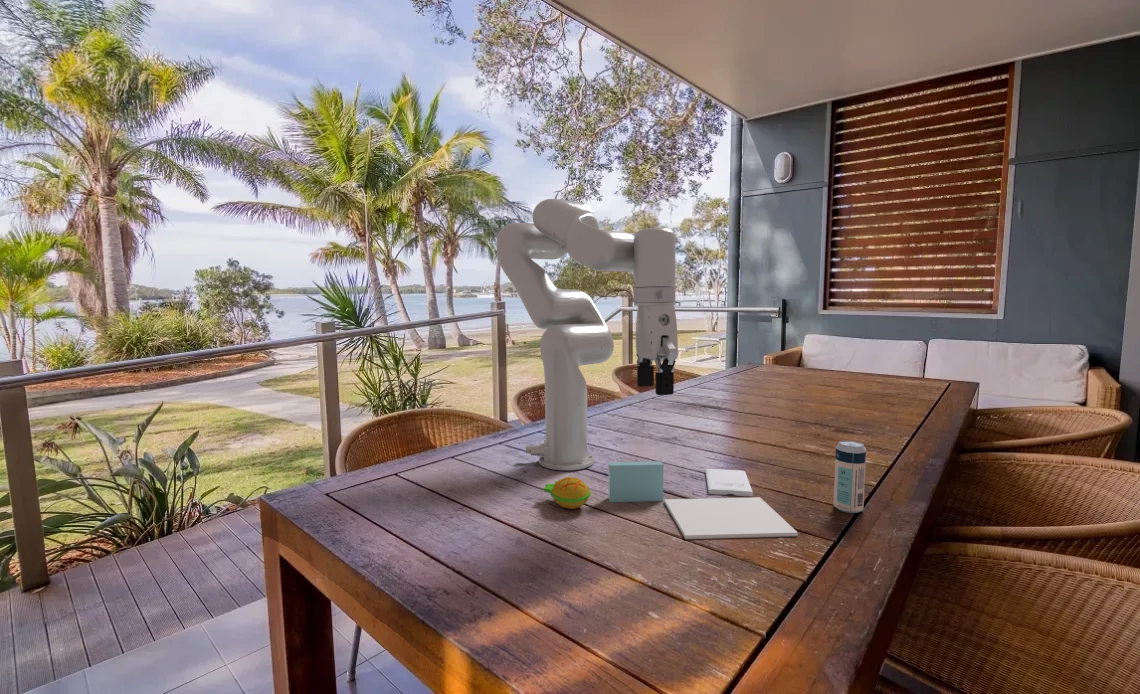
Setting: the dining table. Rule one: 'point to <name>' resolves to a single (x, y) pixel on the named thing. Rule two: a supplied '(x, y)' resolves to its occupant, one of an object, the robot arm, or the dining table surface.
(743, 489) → the external hard drive
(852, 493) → the beer can
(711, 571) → the dining table surface
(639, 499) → the tile
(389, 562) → the dining table surface
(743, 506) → the mat
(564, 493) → the yellow green rounded piece
